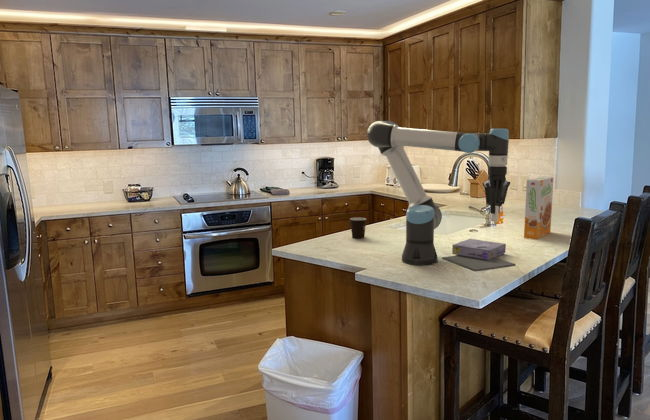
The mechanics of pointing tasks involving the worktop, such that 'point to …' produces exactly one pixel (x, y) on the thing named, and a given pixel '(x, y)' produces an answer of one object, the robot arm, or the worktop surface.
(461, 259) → the mat
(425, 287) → the worktop surface
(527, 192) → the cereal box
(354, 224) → the coffee mug
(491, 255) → the cake pan box
